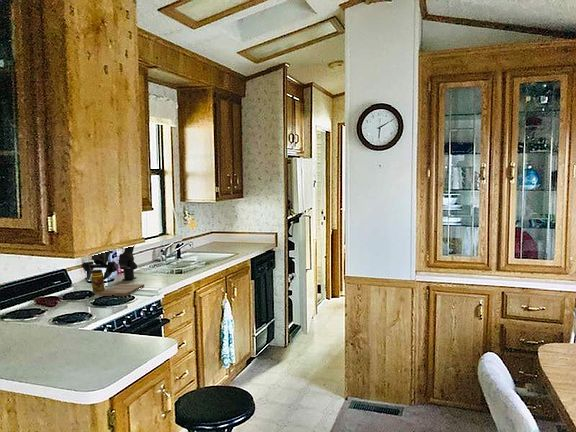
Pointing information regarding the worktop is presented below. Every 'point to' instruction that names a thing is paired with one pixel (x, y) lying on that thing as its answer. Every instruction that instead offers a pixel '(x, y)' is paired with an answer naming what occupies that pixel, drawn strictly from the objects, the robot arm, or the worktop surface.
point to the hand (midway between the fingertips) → (95, 279)
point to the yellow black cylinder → (97, 281)
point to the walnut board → (121, 290)
